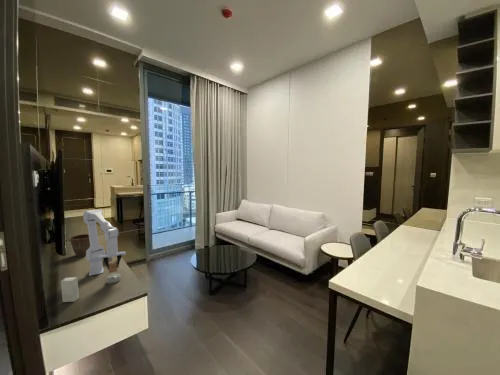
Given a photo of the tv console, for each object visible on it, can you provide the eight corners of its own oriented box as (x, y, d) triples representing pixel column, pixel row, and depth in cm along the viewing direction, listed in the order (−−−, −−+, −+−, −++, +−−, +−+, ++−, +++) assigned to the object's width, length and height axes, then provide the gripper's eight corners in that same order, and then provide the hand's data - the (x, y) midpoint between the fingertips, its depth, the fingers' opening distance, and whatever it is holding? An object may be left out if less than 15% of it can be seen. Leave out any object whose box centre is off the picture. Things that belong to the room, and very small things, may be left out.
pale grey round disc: (106, 279, 141) (106, 275, 141) (120, 276, 145) (120, 272, 145) (106, 285, 134) (105, 280, 134) (121, 281, 138) (120, 277, 138)
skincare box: (79, 297, 121) (78, 276, 120) (73, 302, 116) (72, 280, 115) (67, 298, 120) (66, 276, 119) (61, 302, 115) (60, 280, 115)
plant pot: (97, 252, 190) (96, 234, 189) (82, 258, 175) (81, 239, 174) (81, 251, 191) (80, 233, 190) (65, 258, 177) (64, 238, 175)
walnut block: (109, 270, 140) (108, 261, 139) (117, 268, 142) (116, 260, 142) (108, 272, 136) (108, 264, 136) (117, 271, 138) (117, 262, 138)
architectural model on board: (112, 263, 168) (112, 250, 167) (108, 264, 166) (107, 251, 165) (110, 258, 176) (109, 247, 176) (105, 259, 174) (105, 248, 174)
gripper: (98, 251, 131) (99, 273, 132) (125, 246, 139) (126, 267, 140) (98, 247, 137) (99, 268, 138) (125, 243, 145) (125, 263, 146)
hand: (113, 267), depth 139 cm, fingers closed on walnut block, 4 cm apart
